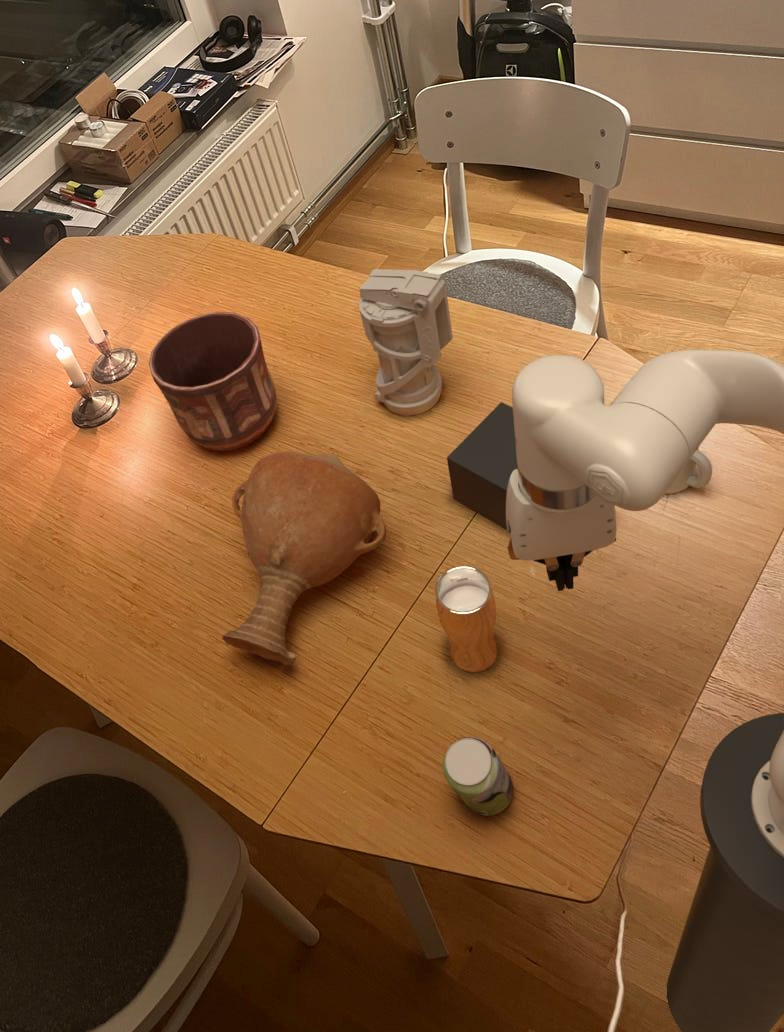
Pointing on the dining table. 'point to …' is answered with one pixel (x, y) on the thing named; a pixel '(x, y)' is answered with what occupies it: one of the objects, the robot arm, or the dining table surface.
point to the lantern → (406, 335)
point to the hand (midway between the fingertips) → (562, 578)
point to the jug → (299, 537)
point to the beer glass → (468, 616)
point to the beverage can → (478, 776)
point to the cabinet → (485, 465)
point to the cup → (693, 474)
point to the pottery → (216, 379)
